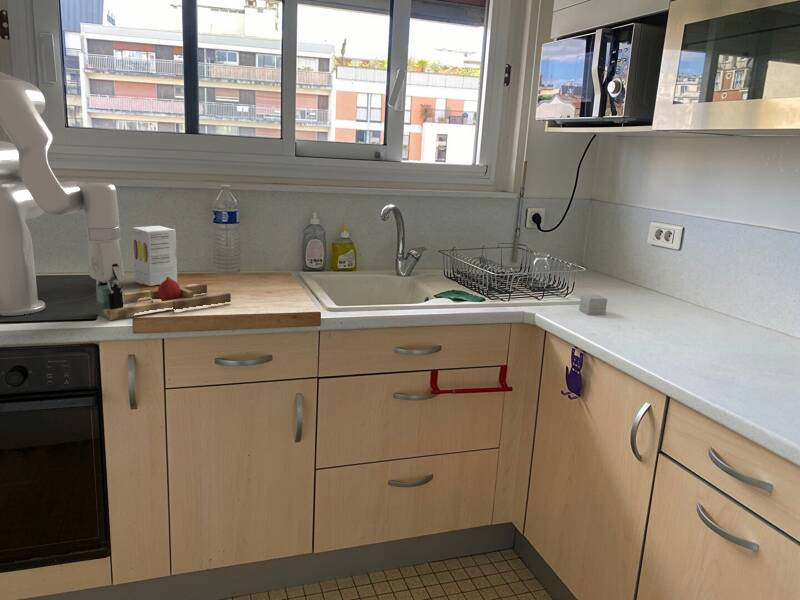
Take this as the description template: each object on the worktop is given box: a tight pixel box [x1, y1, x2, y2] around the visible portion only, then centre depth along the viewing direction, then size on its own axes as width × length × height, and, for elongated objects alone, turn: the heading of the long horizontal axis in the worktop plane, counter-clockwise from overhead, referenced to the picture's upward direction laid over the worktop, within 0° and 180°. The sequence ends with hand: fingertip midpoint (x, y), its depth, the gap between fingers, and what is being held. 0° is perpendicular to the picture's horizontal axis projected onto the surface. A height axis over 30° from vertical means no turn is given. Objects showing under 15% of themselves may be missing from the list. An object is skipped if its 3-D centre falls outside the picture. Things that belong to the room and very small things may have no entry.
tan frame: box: [95, 284, 194, 321], centre depth 169 cm, size 22×10×7 cm, turn 135°
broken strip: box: [123, 283, 198, 304], centre depth 183 cm, size 21×1×2 cm, turn 135°
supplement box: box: [132, 225, 178, 285], centre depth 198 cm, size 10×9×17 cm
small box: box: [579, 293, 608, 316], centre depth 188 cm, size 6×6×5 cm
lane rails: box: [150, 283, 232, 310], centre depth 178 cm, size 16×14×3 cm
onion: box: [157, 276, 181, 301], centre depth 175 cm, size 6×6×8 cm
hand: (111, 305), depth 163 cm, fingers closed on tan frame, 6 cm apart
